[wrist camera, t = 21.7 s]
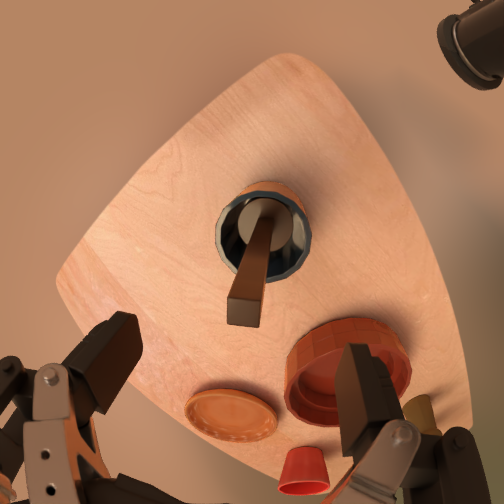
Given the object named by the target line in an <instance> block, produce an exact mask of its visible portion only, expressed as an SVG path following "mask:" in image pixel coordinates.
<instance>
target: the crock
mask: <svg viewBox="0 0 504 504" xmlns="http://www.w3.org/2000/svg"><path fill="white" fill-rule="evenodd" d="M257 196H258V197H269V198H276V199H278V200H280V201H282V202H283V203H285V204H287V205H289V206H291V209H292V216H293V223H294V228H293V233H292V236H291V238H290V239H289V241H288V242H287V243H286V244H285V245H284V246H283V247H281V248H280V249H278V250H275V251H271V252H270V256H269V263H268V271H267V278H266V283H271V282H275V281H279V280H282V279H285V278H287V277H289V276H290V275H291V274H293V273H294V272H295V271H297V270H298V269H300V267H301V266H302V264H303V263H304V261H305V259H306V258H307V256H308V254H309V252H310V246H311V239H312V232H311V229H310V225H309V222H308V218H307V215H306V213H305V210H304V208H303V205H302V202H301V200H300V199H299V198H298V196H297V195H296V194H295V193H294V192H293V191H292V190H291V189H290V188H288V187H287V186H285V185H283V184H281V183H278V182H272V181H262V182H258V183H255V184H252V185H250V186H248V187H247V188H246V189H245V190H243V191H242V192H241V193H240V194H239V195H238V196H237V197H236V198H234V199H233V200H232V201H231V202H230V203H229V204H228V205H227V206H226V207H225V208H224V209H223V211H222V213H221V215H220V217H219V219H218V221H217V224H216V231H215V243H216V247H217V249H218V252H219V254H220V257H221V259H222V261H223V262H224V263H225V264H226V265H227V266H228V267H229V268H230V270H231V271H232V272H233V273H235V274H237V271H238V268H239V266H240V263H241V261H242V258H243V255H244V253H245V250H246V248H247V244H246V243H245V242H244V241H243V240H242V238H241V237H240V234H239V231H238V218H239V215H240V212H241V211H242V209H243V208H244V206H245V205H246V204H247V202H248V201H249V200H250V199H251V198H254V197H257Z"/></svg>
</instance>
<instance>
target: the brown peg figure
mask: <svg viewBox="0 0 504 504" xmlns="http://www.w3.org/2000/svg"><path fill="white" fill-rule="evenodd" d="M402 411H403V413H404V415H405V417H406V419H407V421H409V422H411V423H413V424H414V425H415V426H416V427H417V428H418V429H419V431H420V433H423V434H430V435H439V436H442V432H441V431H440V430H439V429H437V427H436V423H435V418H434V413H433V409H432V405H431V401H430V397H429V396H428V395H420V396H417V397H415V398H413V399H411V400H410V401H408V402H407V403H406V404H405V405H404V407H403V409H402Z"/></svg>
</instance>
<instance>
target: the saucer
mask: <svg viewBox="0 0 504 504" xmlns="http://www.w3.org/2000/svg"><path fill="white" fill-rule="evenodd" d="M184 411H185V416H186V418H187V420H188V421H189V422H190V424H191V425H192V426H194V427H195V428H196V429H197V430H199V431H200V432H202V433H204V434H206V435H208V436H210V437H213V438H216V439H219V440H223V441H228V442H236V443H248V442H255V441H259V440H262V439H265V438H267V437H269V436H270V435H272V434H273V433H274V432H275V430H276V428H277V416H276V414H275V412H274V411H273V409H272V408H271V407H270V406H269V405H267V404H266V403H265V402H263V401H262V400H260V399H259V398H257V397H255V396H253V395H251V394H249V393H246V392H242V391H239V390H233V389H214V390H208V391H204V392H200V393H198V394H196V395H194V396H192V397H191V398H190V399H189V400H188V402H187V403H186V405H185V409H184Z"/></svg>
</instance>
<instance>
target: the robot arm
mask: <svg viewBox="0 0 504 504" xmlns="http://www.w3.org/2000/svg"><path fill="white" fill-rule="evenodd" d="M471 1H472V2H473V3H475V4H473V5H471V6H470V7H469V9H468V10H467V11H465V12H463V13H462V14H460V15H459V16H457V17H456V18H455V19H456V22H455V23H454V24H453V25H452V28H451V37H452V41H453V44H454V47H455V49H456V51H457V53H458V55H459V56H460V58H461V59H462V61H463V62H464V63H465V65H466V66H467V67H468V68H469V69H470V70H471V71H472V72H473V73H474V74H475V75H477V76H478V77H480V78H481V79H484V80H487V81H491V80H495V79H498V78H499V79H500V78H501V77H504V0H483V1H480V0H471ZM142 352H143V343H142V338H141V333H140V328H139V323H138V318H137V316H136V315H135V314H131V313H126V312H122V311H117V312H116V313H115V314H114V315H113V316H112V317H111V318H110V319H109V320H105V321H103V322H101V323H100V324H98V325H96V326H95V327H94V328H93V329H92V330H91V331H90V332H89V333H88V335H86V336H85V338H84V339H83V341H81V342H80V343H79V344H78V345H77V346H76V347H75V348H74V350H73V351H72V352H71V353H70V354H69V355H68V356H67V357H66V359H65V360H64V361H63V362H62V363H61V364H58V363H50V364H46V365H44V366H43V367H41V368H40V369H39V370H38V371H37V370H31V369H26V368H24V366H23V365H22V363H21V361H20V359H19V358H18V357H16V356H7V357H4V358H3V359H1V360H0V415H1V414H2V412H3V411H4V410H5V408H6V407H7V405H8V404H9V403H10V401H11V400H12V401H13V402H14V404H15V405H16V407H17V408H16V410H15V411H14V412H13V414H12V415H11V417H10V418H9V420H8V421H7V423H6V424H5V426H4V427H3V428H2V429H1V428H0V504H189V503H184V502H182V501H179V500H178V499H176V498H174V497H172V496H170V495H168V494H167V493H165V492H163V491H161V490H159V489H158V488H156V487H154V486H153V485H151V484H148V483H145V482H142V481H139V480H136V479H134V478H131V477H129V476H126V475H124V474H121V473H119V474H118V477H117V479H115V478H111V476H110V474H109V472H108V470H107V468H106V466H105V464H104V462H103V460H102V457H101V454H100V449H99V445H98V441H97V436H96V431H95V427H94V421H93V418H92V414H93V413H94V411H97V412H99V413H101V414H104V415H105V414H106V413H107V411H108V409H109V407H110V406H111V404H112V403H113V401H114V399H115V398H116V396H117V394H118V393H119V391H120V390H121V388H122V386H123V385H124V383H125V382H126V380H127V379H128V377H129V375H130V374H131V372H132V371H133V369H134V367H135V366H136V364H137V363H138V361H139V360H140V358H141V356H142ZM334 387H335V394H336V401H337V409H338V417H339V425H340V434H341V444H342V454H343V457H349V456H353V462H354V464H353V465H352V466H351V467H350V469H349V470H348V471H347V472H346V474H345V475H344V476H343V478H342V479H341V480H340V481H339V483H338V484H337V485H336V486H335V487H334V489H333V490H332V491H331V492H330V493H329V495H328V496H327V497H326V498H325V499H324V500H323V501H322V502H321V503H320V504H395V503H396V500H397V498H396V497H395V493H396V491H397V489H398V488H399V487H402V488H403V497H404V504H491V500H490V494H489V489H488V485H487V481H486V477H485V473H484V469H483V465H482V462H481V458H480V455H479V452H478V449H477V446H476V443H475V440H474V437H473V435H472V434H471V433H470V431H468V430H467V429H465V428H463V427H452V428H450V429H449V430H448V431H447V432H446V433H445V434H444V435H443V436H439V435H430V434H423V433H420V431H419V429H418V428H417V427H416V426H415V425H414V424H413V423H411V422H409V421H407V420H405V418H404V415H403V412H402V409H401V406H400V403H399V400H398V397H397V394H396V391H395V388H394V387H393V382H392V379H391V378H390V374H389V371H388V368H387V366H386V365H385V363H384V362H383V361H382V360H381V359H380V358H379V357H378V356H372V355H371V352H370V349H369V346H368V344H367V343H351V342H348V343H346V345H345V347H344V350H343V353H342V356H341V359H340V362H339V364H338V367H337V370H336V373H335V380H334ZM23 462H24V463H25V473H26V482H27V489H28V494H29V499H27V500H22V501H18V502H13V503H10V500H12V501H14V500H15V499H16V497H17V496H16V492H15V491H14V490H13V489H12V486H11V485H12V482H13V481H14V479H15V477H16V475H17V473H18V471H19V469H20V467H21V465H22V463H23ZM223 504H228V503H223Z"/></svg>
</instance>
